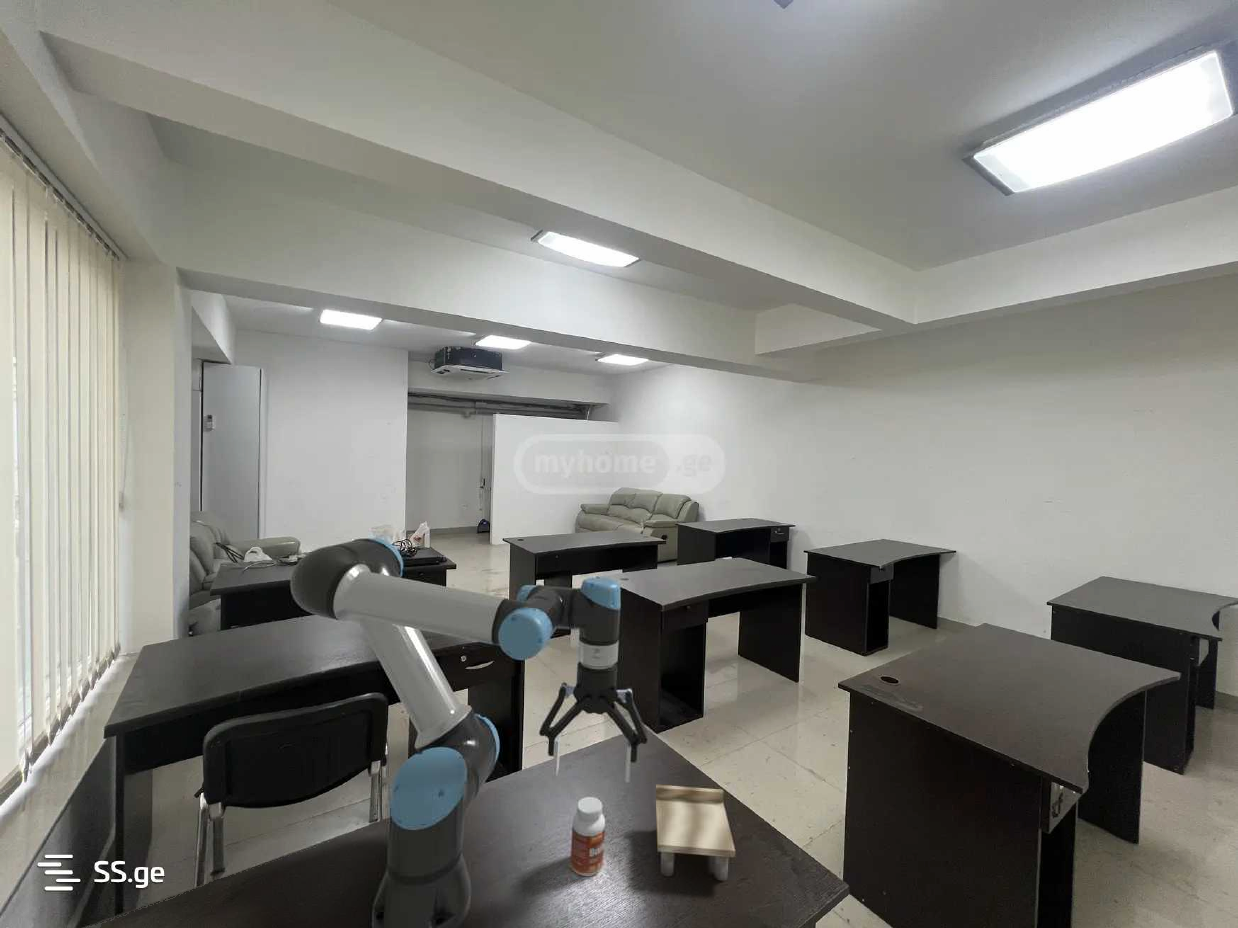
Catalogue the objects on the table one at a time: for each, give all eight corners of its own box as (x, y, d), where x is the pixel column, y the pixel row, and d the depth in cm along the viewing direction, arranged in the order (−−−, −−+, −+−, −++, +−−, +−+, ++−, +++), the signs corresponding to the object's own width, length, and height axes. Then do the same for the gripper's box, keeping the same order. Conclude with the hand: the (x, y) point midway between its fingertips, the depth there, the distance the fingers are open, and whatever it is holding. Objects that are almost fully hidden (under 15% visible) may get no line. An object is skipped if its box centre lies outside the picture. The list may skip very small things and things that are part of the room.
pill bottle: (591, 883, 88) (594, 820, 88) (563, 868, 91) (566, 807, 91) (609, 860, 93) (612, 801, 93) (582, 846, 96) (585, 789, 96)
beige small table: (656, 878, 89) (658, 833, 89) (654, 823, 103) (656, 784, 103) (733, 885, 89) (735, 839, 89) (721, 828, 103) (722, 789, 103)
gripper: (527, 665, 89) (521, 782, 89) (664, 674, 88) (658, 793, 88) (536, 650, 97) (530, 758, 96) (662, 658, 96) (656, 768, 95)
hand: (591, 775), depth 92 cm, fingers open, 13 cm apart
